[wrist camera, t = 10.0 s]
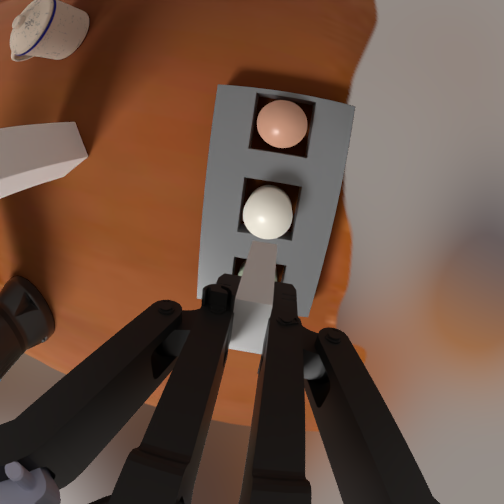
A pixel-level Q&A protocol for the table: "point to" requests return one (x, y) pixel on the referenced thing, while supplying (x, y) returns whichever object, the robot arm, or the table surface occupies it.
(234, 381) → the table surface
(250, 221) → the button cream
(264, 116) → the button terracotta
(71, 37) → the teacup with lid
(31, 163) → the milk
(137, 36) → the table surface
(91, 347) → the table surface
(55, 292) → the table surface
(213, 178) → the button panel
